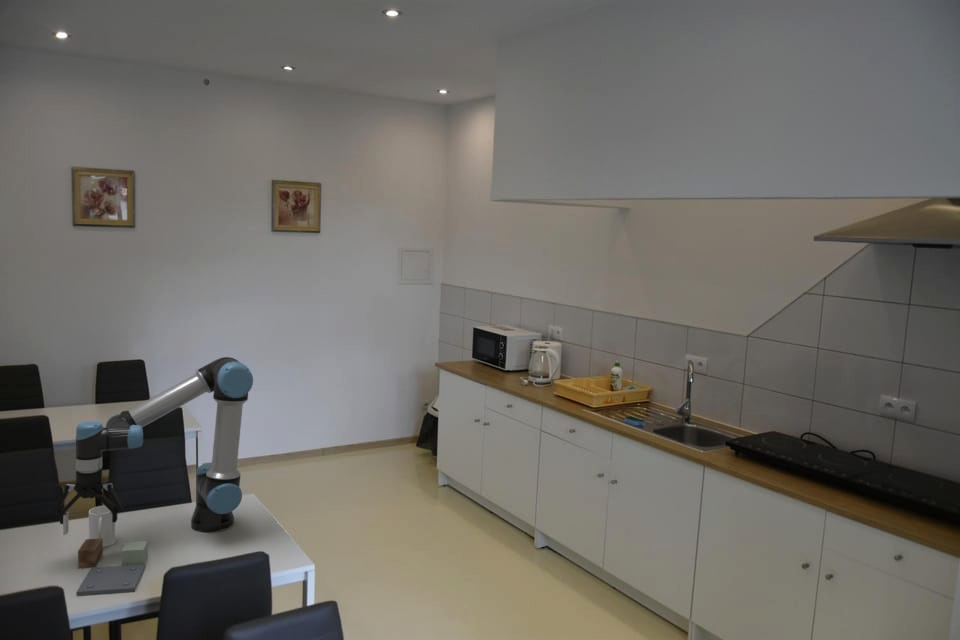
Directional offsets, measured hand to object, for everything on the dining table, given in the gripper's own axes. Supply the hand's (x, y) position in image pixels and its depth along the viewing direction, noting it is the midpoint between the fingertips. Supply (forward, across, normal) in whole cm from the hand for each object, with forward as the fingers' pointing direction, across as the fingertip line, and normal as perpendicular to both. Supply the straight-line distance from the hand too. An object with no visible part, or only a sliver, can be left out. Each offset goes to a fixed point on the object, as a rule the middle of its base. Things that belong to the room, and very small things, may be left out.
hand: (88, 532), depth 233 cm
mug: (+10, 0, -13) cm, 17 cm away
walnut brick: (+10, 0, 0) cm, 10 cm away
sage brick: (+10, -14, +3) cm, 18 cm away
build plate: (+10, -10, +15) cm, 21 cm away
